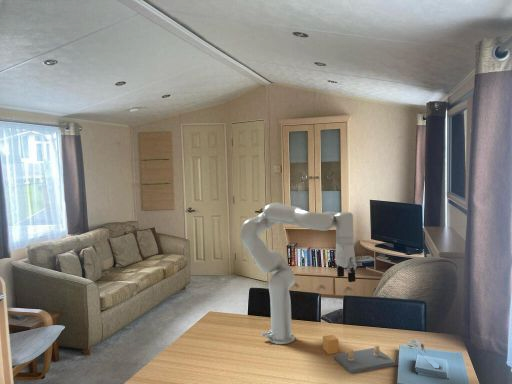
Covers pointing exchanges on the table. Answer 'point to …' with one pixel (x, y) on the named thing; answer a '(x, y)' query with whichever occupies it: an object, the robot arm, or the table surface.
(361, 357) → the terminal board
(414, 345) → the adjustable wrench
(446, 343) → the table surface
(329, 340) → the orange block
